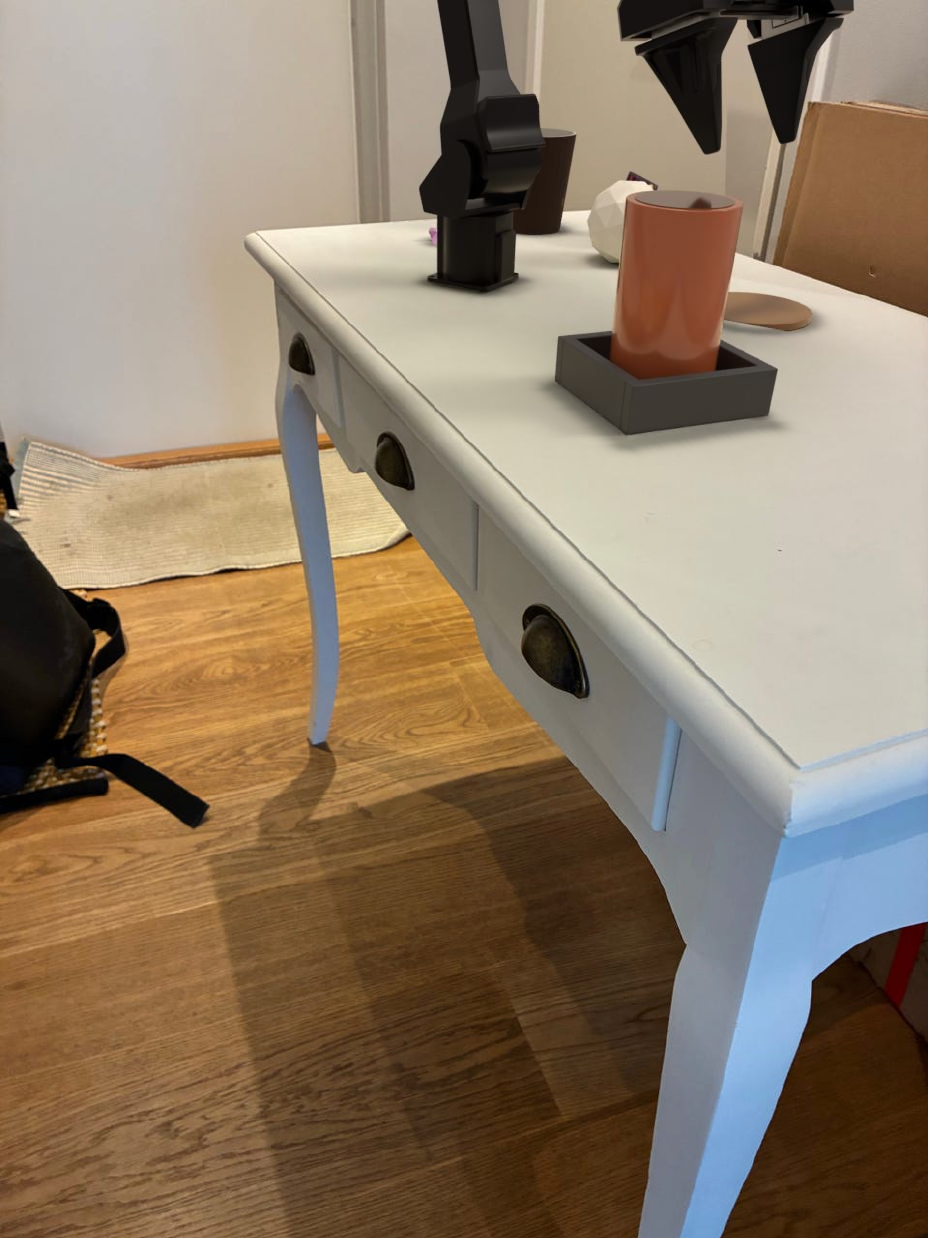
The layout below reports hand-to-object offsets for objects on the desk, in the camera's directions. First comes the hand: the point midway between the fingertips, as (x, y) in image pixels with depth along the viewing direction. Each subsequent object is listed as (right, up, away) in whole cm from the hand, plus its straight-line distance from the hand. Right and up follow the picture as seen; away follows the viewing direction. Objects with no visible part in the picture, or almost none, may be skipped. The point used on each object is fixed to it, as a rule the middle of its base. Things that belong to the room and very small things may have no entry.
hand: (751, 147), depth 64 cm
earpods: (-22, +9, +38) cm, 45 cm away
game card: (0, +10, +41) cm, 42 cm away
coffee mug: (-11, +14, +46) cm, 50 cm away
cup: (-7, -17, -2) cm, 19 cm away
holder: (-7, -18, -2) cm, 19 cm away
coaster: (+5, -6, +17) cm, 18 cm away
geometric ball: (-3, +4, +32) cm, 33 cm away
